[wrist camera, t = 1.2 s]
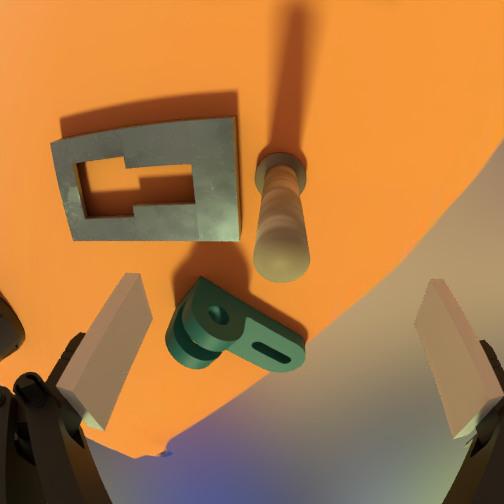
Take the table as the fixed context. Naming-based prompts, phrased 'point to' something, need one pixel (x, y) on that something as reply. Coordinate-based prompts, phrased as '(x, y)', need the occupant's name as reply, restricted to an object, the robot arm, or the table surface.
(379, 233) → the table surface
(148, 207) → the keyhole plate
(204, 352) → the bracket
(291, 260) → the peg
